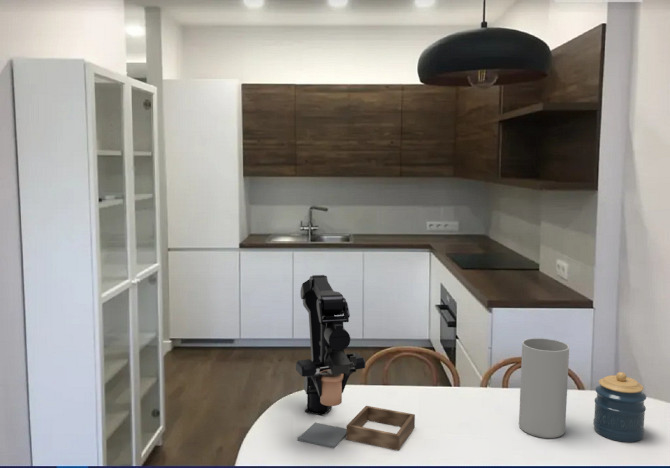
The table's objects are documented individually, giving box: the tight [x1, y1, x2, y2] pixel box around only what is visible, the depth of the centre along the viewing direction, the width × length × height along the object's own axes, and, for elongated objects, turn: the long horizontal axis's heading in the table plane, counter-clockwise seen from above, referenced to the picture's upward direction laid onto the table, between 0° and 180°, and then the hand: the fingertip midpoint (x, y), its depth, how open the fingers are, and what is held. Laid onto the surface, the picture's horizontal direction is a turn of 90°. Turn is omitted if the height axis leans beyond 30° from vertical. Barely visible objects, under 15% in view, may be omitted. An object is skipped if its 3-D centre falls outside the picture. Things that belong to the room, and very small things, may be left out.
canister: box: [593, 371, 647, 443], centre depth 162 cm, size 13×13×18 cm
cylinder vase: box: [518, 337, 570, 439], centre depth 164 cm, size 12×12×25 cm
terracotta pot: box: [320, 369, 343, 407], centre depth 159 cm, size 7×7×8 cm
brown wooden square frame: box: [345, 405, 416, 451], centre depth 161 cm, size 15×15×4 cm
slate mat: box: [297, 422, 347, 449], centre depth 160 cm, size 11×11×1 cm
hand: (330, 394), depth 159 cm, fingers closed on terracotta pot, 6 cm apart
